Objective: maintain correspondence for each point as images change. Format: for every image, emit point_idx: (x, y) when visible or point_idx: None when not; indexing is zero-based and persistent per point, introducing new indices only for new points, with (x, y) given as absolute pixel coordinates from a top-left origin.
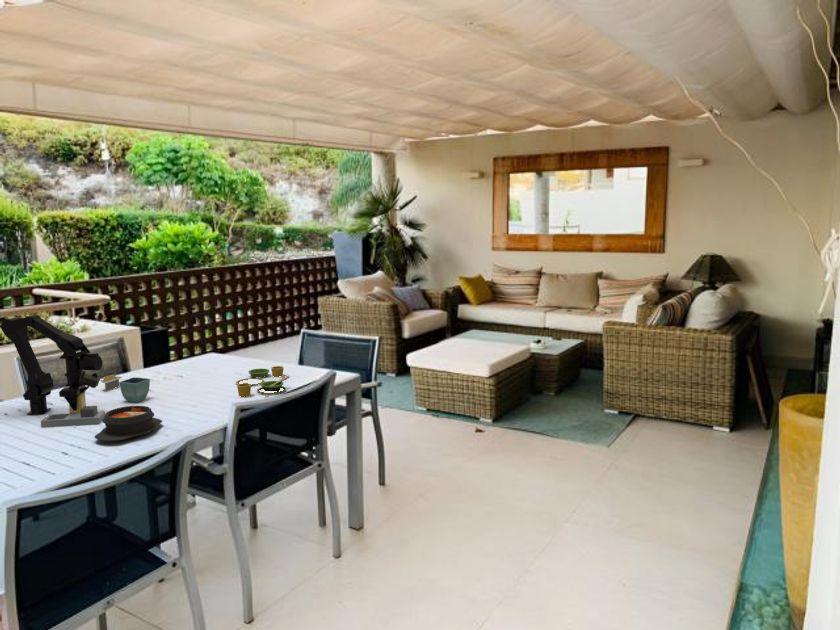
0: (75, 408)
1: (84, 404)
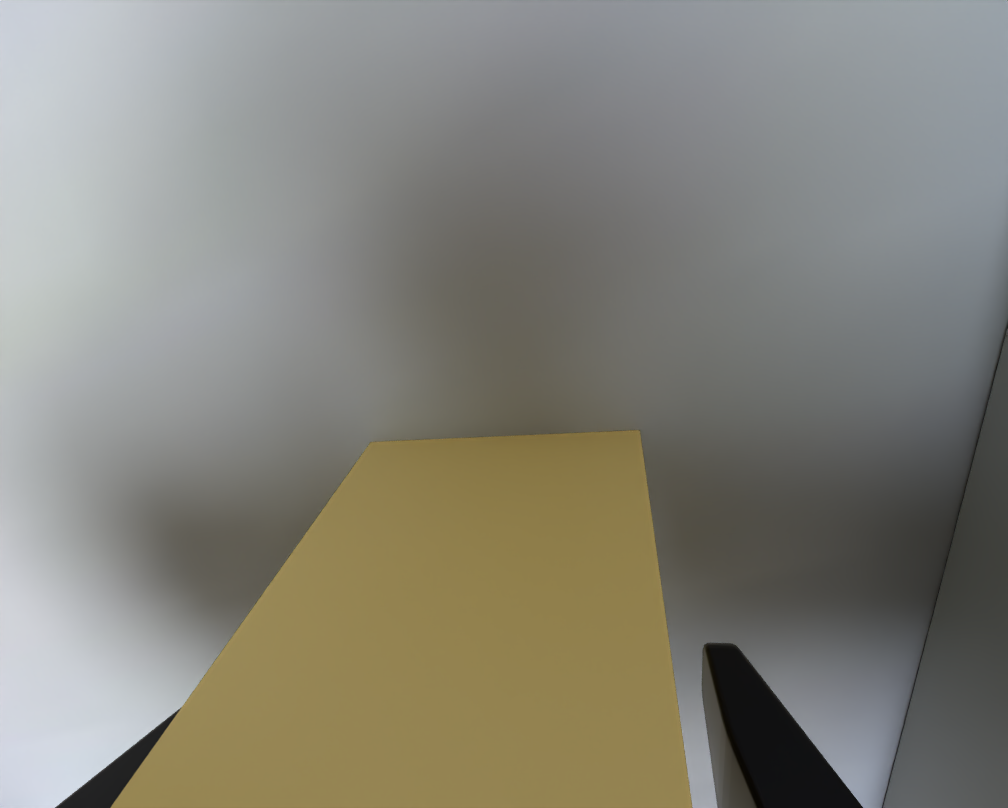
0: (766, 706)
1: (390, 592)
